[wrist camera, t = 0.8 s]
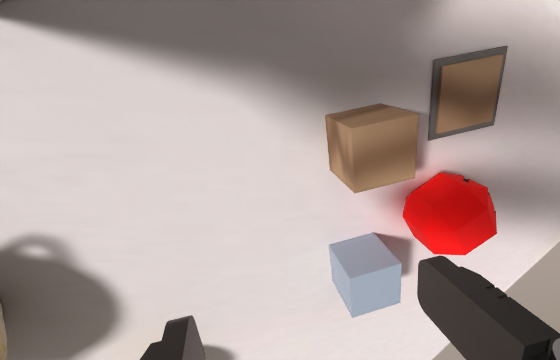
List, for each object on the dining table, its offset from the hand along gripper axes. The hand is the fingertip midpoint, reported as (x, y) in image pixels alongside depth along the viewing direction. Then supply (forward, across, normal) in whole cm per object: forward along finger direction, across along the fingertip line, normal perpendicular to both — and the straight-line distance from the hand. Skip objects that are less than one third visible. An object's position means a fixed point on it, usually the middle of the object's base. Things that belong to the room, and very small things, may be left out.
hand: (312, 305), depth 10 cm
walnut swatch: (+20, -24, -3) cm, 31 cm away
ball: (+21, -20, +9) cm, 31 cm away
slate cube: (+22, -10, +15) cm, 28 cm away
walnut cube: (+20, -11, -1) cm, 23 cm away
